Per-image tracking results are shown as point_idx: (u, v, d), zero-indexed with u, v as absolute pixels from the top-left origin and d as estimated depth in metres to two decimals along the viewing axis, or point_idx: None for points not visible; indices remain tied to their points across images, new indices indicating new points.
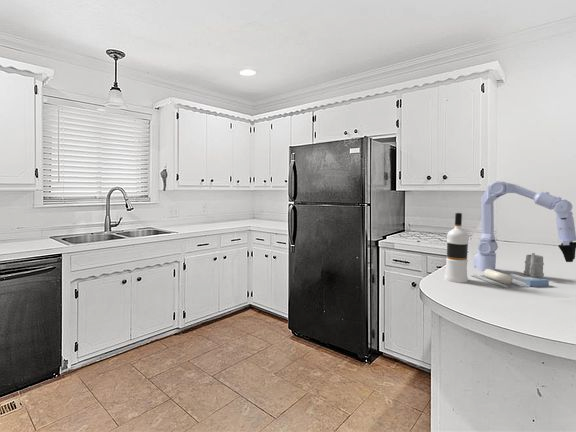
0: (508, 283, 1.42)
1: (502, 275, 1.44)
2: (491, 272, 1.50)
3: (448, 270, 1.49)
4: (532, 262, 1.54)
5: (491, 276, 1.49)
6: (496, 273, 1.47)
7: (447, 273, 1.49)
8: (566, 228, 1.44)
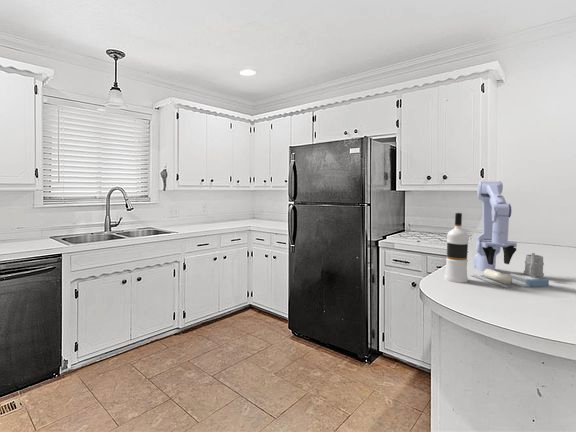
0: (508, 283, 1.42)
1: (502, 275, 1.44)
2: (491, 272, 1.50)
3: (448, 270, 1.49)
4: (532, 262, 1.54)
5: (490, 276, 1.49)
6: (496, 273, 1.47)
7: (447, 273, 1.49)
8: (494, 232, 1.46)
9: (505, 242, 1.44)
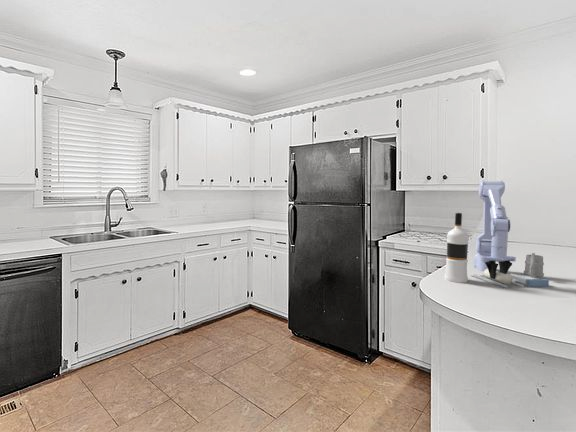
0: (508, 283, 1.42)
1: (502, 275, 1.44)
2: None
3: (448, 270, 1.49)
4: (532, 262, 1.54)
5: None
6: (496, 273, 1.47)
7: (447, 273, 1.49)
8: (493, 246, 1.46)
9: (504, 257, 1.45)
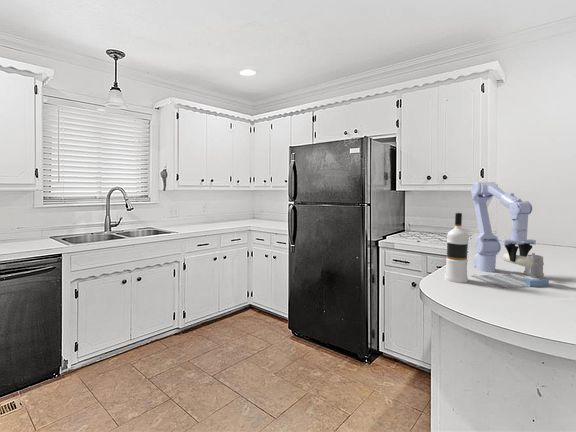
0: (528, 265, 1.43)
1: (523, 258, 1.44)
2: None
3: (448, 270, 1.49)
4: None
5: None
6: (517, 256, 1.48)
7: (447, 273, 1.49)
8: (514, 229, 1.47)
9: (524, 239, 1.45)
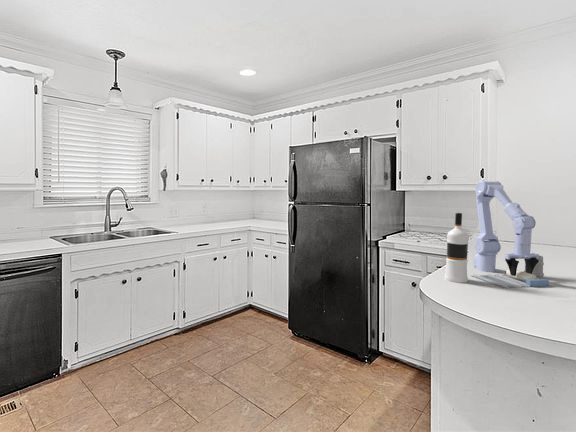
0: None
1: (526, 274, 1.45)
2: None
3: (448, 270, 1.49)
4: None
5: None
6: (520, 272, 1.48)
7: (447, 273, 1.49)
8: (517, 243, 1.48)
9: (528, 254, 1.46)
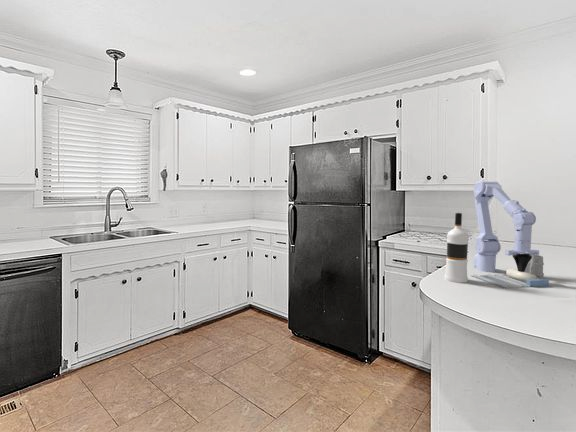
0: None
1: (526, 274, 1.45)
2: (514, 271, 1.51)
3: (448, 270, 1.49)
4: (532, 262, 1.54)
5: (514, 275, 1.50)
6: (520, 272, 1.48)
7: (447, 273, 1.49)
8: (517, 240, 1.48)
9: (528, 250, 1.46)
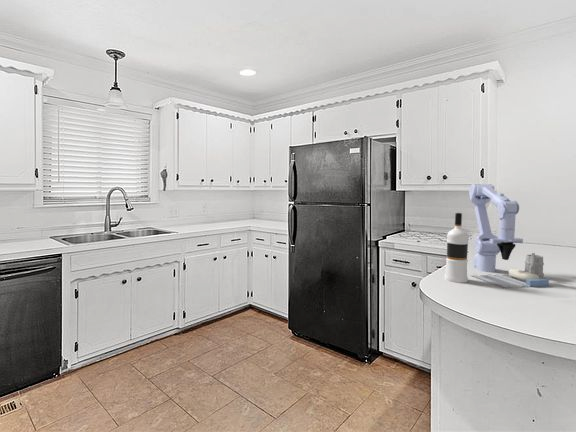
0: None
1: (531, 273, 1.45)
2: (519, 270, 1.51)
3: (448, 270, 1.49)
4: (532, 262, 1.54)
5: (517, 272, 1.50)
6: None
7: (447, 273, 1.49)
8: (501, 228, 1.51)
9: (512, 238, 1.49)
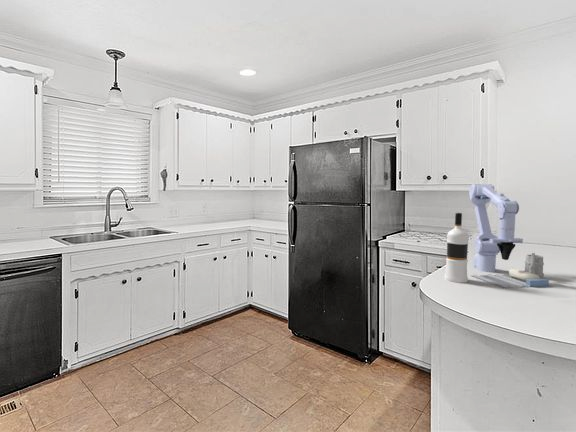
0: None
1: None
2: (520, 270, 1.51)
3: (448, 270, 1.49)
4: (532, 262, 1.54)
5: (518, 272, 1.50)
6: None
7: (447, 273, 1.49)
8: (501, 228, 1.51)
9: (512, 238, 1.49)
